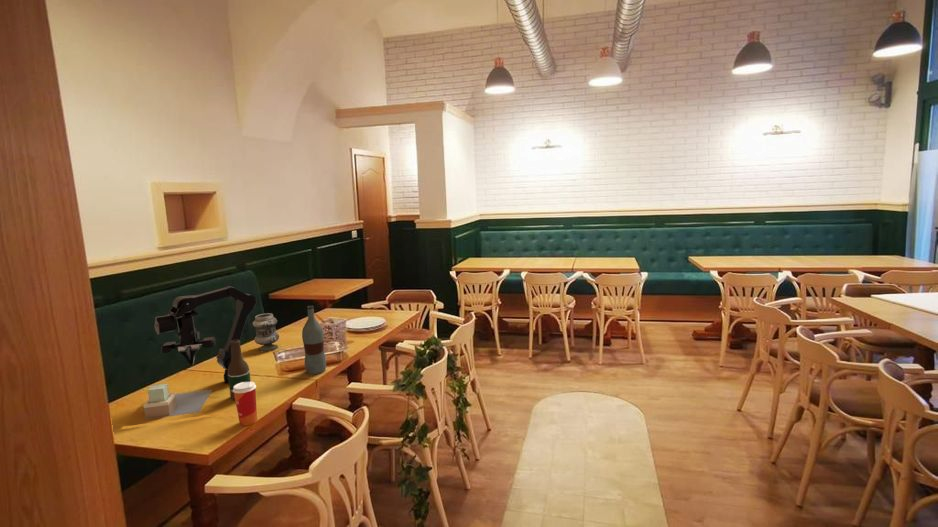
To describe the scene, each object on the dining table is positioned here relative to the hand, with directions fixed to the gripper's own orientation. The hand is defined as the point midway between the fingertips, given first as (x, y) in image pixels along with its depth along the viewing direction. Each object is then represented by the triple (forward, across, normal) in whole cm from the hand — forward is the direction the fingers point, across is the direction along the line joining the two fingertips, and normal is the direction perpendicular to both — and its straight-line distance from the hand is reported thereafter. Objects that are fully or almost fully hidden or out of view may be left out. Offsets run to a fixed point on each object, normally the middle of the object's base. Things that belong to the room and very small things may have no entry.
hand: (192, 365), depth 202 cm
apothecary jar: (+14, -22, -53) cm, 59 cm away
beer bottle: (+13, -19, +11) cm, 25 cm away
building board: (+13, +3, +10) cm, 16 cm away
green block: (+8, +8, +16) cm, 19 cm away
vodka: (+14, -47, -10) cm, 50 cm away
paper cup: (+13, -24, +34) cm, 44 cm away
